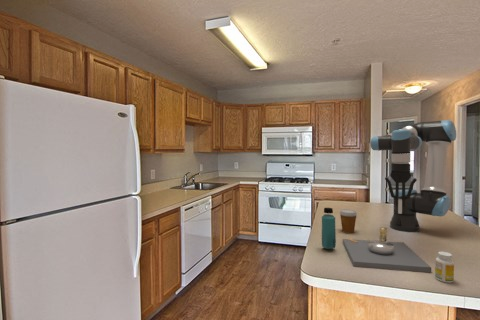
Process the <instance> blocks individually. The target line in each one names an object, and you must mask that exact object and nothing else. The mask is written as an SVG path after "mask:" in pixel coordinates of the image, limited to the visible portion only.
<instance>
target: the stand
mask: <svg viewBox="0 0 480 320" xmlns="http://www.w3.org/2000/svg"><path fill="white" fill-rule="evenodd" d="M369 241H371V240H369V239H366V240H365V239H353V238H352V239H351V238H342V245H343V247H344V249H345V252H346V253H347V255H348V257H349V259H350V262H351V264H352V266H353V267H358V268H359V267H360V268H372V269H379V270H380V269H381V270H383V269H385V270H393V271H406V272H418V273H419V272H420V273H432V267H431V266H430V265H429V264H428V263H427V262H426V261H425V260H424V259H422V257H420V256H419V255H418V254H417V253H416V252H415V251H414V250H413V249H411V248H410V247H409V246H408V245H407V244H406V243H405V242H403V241H402V242H401V241H386V242H389V243H392V244H393V245H394V253H393V254H391V255H381V254H376V253H373V252H371V251H370V250H369V249H368V242H369Z"/></svg>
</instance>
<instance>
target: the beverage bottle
mask: <svg viewBox="0 0 480 320" xmlns="http://www.w3.org/2000/svg"><path fill="white" fill-rule="evenodd" d="M323 213H325V214H323V215H322V216H321V247H322V248H325V249H328V250H332V249H336V247H337V245H336V244H337V243H336V242H337V237H336V235H337V234H336V229H337V228H336V217H335V216H334V215H333V213H334V209H333V208H332V207H324V208H323Z"/></svg>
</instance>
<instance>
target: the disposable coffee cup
mask: <svg viewBox="0 0 480 320" xmlns="http://www.w3.org/2000/svg"><path fill="white" fill-rule="evenodd" d="M339 215H340V222H341V223H340V224H341V230H342V232H343V233H346V234H354V233H355V228H356V227H355V226H356V222H357V221H356V220H357V215H358V212H357V211H356V210H354V209H347V208H346V209H340V210H339Z"/></svg>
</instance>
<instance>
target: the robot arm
mask: <svg viewBox="0 0 480 320" xmlns="http://www.w3.org/2000/svg"><path fill="white" fill-rule="evenodd" d="M456 129H457V128H456V126H455V123H454V122H453V121H452V120H449V119H448V120H446V119H445V120H443V119H441V120H433V121H421V122H416V123H412V124H409V125H406V126H404V127H402V128H401V129H395V130H392V132H391V133H388V134H384V135H380V136H378V135H377V136H373V137H372V138H370V142H369V143H370V149H371V150H372V151H378V152H379V151H391V162H392V163H391V164H390V165H391V168H390V169H391V170H390V175H388V176H385V177H384V179H385V181H386V183H387V185H388V190H389V194H390V197H391V198H392V199H393V215H392V217H391V218H390V219H391V220H390V221H389V222H390V223H389V227H390V228H391V229H393V230H396V231H399V232H400V231H401V232H407V233H408V232H409V233H411V232H412V233H413V232H419V231H421V229H420V228H421V226H420V224H419V220H418V218H417V214H423V215H426V216H427V215H428V216H433V217H444V216H446V214H447V213H448V211H449V209H450V205H451V198H450V196H449V195H447V191H445V190H444V185H445V174H446V166H447V165H446V164H447V153H448V147H450V146H451V145H452V142H453V141H456V139H457V130H456ZM423 142H425V145H426V146H428V148H427V149H428V150H427V159H426V167H425V177H424V178H425V179H424V185H423V188H421V189H420V192H418V191H417V189H413V187H414V185H415V184H416V182H417V180H418V179H417V178H416V177H414V176H412V174H411V164H410V163H411V151H416V150H418V149H420V148H421V146H422V144H423ZM391 180H393V182H394V183H395V191H394V190H393V186H392V183H391ZM409 180H410V185H409V187H408V189H406V183H407V182H408V181H409ZM400 183H401V189H399V188H400V187H399V186H400Z"/></svg>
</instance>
